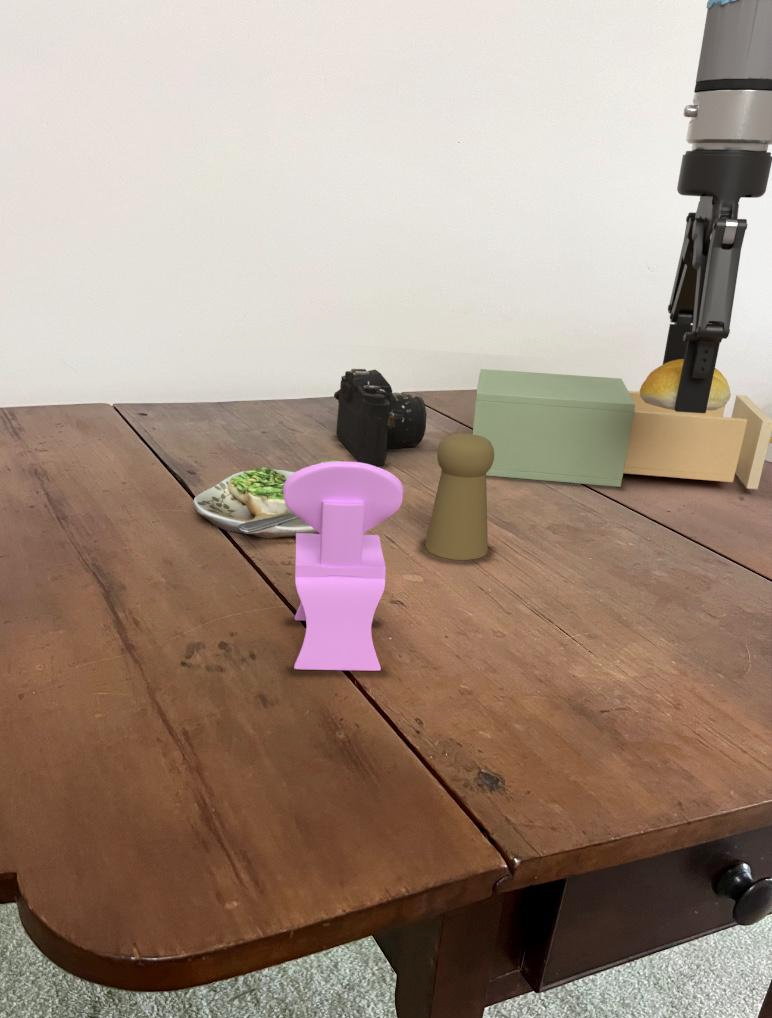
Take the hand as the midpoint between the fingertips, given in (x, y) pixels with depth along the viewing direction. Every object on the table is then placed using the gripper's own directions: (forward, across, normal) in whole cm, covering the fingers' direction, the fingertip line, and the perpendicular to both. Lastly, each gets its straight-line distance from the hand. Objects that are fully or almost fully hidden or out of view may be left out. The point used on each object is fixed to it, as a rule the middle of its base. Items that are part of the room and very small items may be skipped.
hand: (680, 399), depth 91 cm
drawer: (+12, -19, +7) cm, 24 cm away
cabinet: (+13, -19, -11) cm, 26 cm away
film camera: (+13, -20, -32) cm, 40 cm away
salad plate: (+13, +6, -38) cm, 41 cm away
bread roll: (+1, 0, 0) cm, 1 cm away
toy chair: (+13, +34, -29) cm, 47 cm away
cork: (+13, +13, -21) cm, 27 cm away
